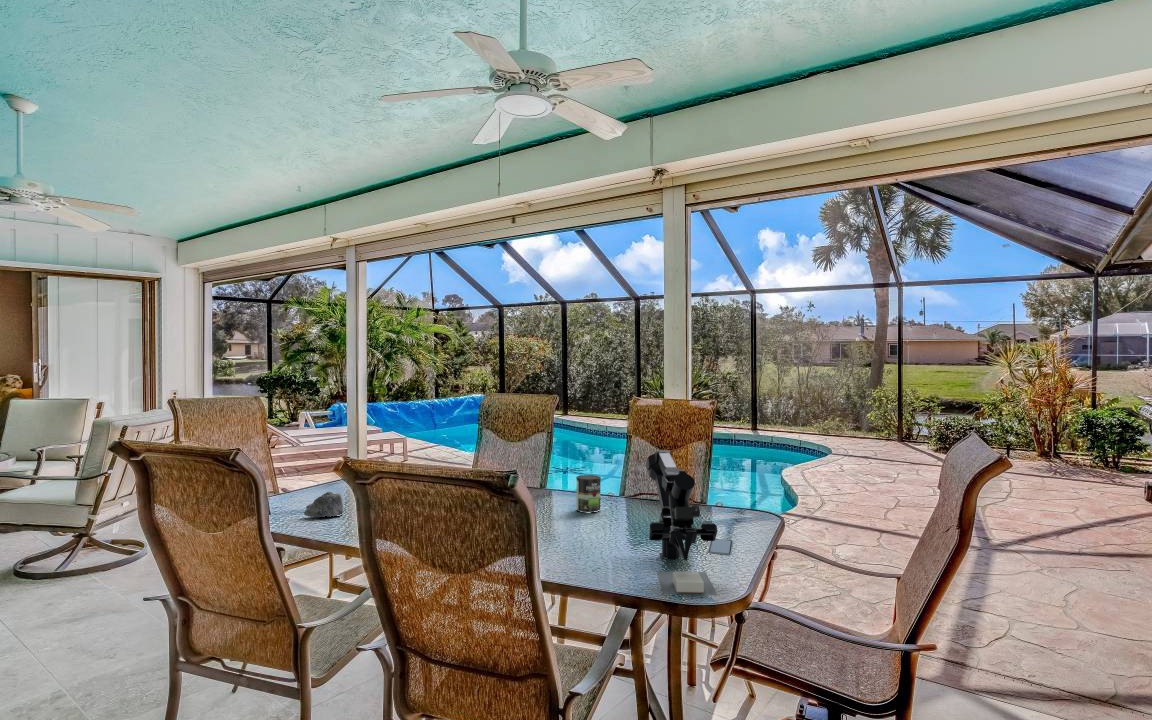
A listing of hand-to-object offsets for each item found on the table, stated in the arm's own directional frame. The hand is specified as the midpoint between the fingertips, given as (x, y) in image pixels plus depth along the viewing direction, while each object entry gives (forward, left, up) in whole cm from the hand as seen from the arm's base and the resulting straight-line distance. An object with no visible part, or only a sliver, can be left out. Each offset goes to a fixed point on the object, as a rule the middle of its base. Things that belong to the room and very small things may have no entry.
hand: (685, 559), depth 157 cm
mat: (0, 0, -7) cm, 7 cm away
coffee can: (-84, -28, -7) cm, 89 cm away
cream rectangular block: (0, 0, -5) cm, 5 cm away
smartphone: (-36, +17, -8) cm, 40 cm away
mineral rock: (-68, -133, -8) cm, 150 cm away
